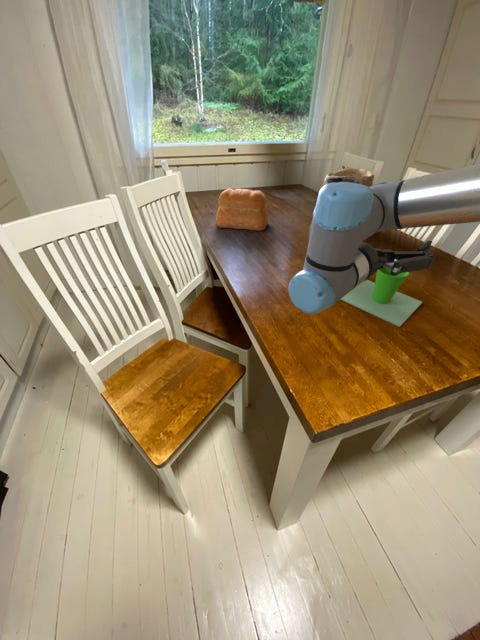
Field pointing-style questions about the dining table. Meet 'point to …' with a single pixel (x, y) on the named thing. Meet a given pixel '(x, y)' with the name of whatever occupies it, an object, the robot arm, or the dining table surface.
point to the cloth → (390, 312)
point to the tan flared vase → (353, 176)
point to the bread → (242, 210)
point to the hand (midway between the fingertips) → (396, 237)
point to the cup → (387, 285)
